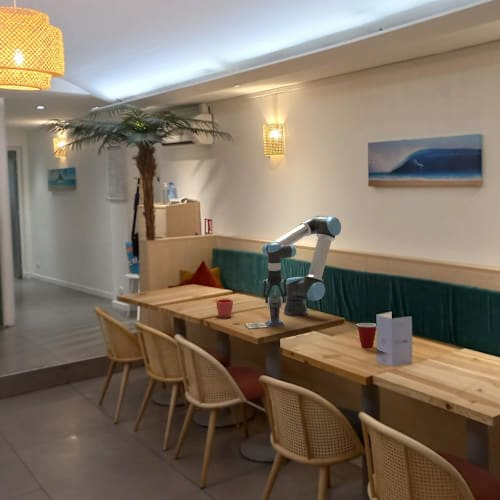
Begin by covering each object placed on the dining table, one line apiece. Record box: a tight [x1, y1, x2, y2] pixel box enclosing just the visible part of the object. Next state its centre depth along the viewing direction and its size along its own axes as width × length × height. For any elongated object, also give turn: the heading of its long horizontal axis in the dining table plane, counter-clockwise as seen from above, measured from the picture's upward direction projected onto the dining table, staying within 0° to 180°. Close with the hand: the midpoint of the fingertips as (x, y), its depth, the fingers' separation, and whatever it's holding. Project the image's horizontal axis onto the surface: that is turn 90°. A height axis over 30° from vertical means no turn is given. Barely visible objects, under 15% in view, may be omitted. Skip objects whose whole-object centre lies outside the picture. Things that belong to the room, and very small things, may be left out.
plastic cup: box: [356, 322, 377, 349], centre depth 322 cm, size 11×11×12 cm
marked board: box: [244, 322, 270, 330], centre depth 370 cm, size 12×12×1 cm
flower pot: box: [215, 299, 234, 318], centre depth 398 cm, size 11×11×10 cm
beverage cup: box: [269, 287, 281, 322], centre depth 372 cm, size 7×7×20 cm
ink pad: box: [265, 319, 285, 328], centre depth 373 cm, size 9×9×2 cm
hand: (274, 308), depth 372 cm, fingers closed on beverage cup, 7 cm apart
